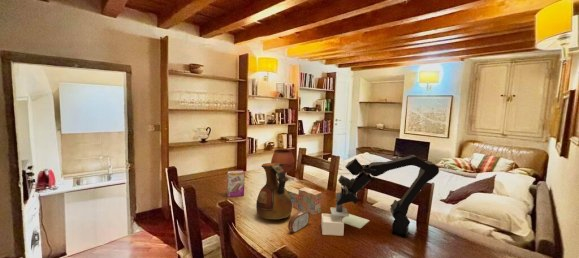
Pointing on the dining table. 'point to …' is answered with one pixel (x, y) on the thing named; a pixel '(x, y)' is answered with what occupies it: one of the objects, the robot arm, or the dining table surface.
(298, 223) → the tin
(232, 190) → the candy bar box
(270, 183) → the ceramic pitcher
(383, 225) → the dining table surface
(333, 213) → the lid
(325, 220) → the box
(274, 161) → the brown clay pot
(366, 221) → the mat
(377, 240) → the dining table surface
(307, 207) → the stack of blocks
